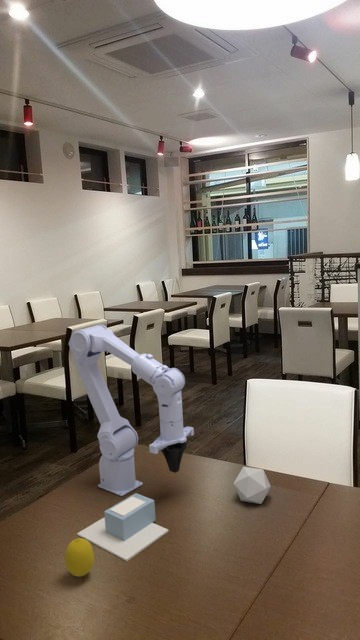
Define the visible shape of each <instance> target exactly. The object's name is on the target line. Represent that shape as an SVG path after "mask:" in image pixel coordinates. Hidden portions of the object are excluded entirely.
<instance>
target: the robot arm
mask: <svg viewBox="0 0 360 640" xmlns="http://www.w3.org/2000/svg"><path fill="white" fill-rule="evenodd" d="M68 346H69V348H70V351H71V353H72V355H73V362H74V366H75V368H76V371H77V373H78V375H79V378H80V380H81V382H82V385H83V388H84V389H85V392H86V394H87V397H88V398H89V401H90V404H91V405H92V408H93V411H94V412H95V415H96V417H97V419H98V421H99V424H100V427H99V430H98V432H97V439H98V443H99V450H100V452H101V454H102V455H101V456H100V458H99V463H98V466H99V467H98V468H99V480H100V483H98V487H99V488H101V489H103V490H106V491H108V492H110V493H113V494H115V495H117V496H120V497H124V496H125V495H127V494H129V493H131V492H132V491H134V490H136V489H137V488H139V487H141V486H143V484H144V483H143V482H142V481H140V480H137V479H136V468H135V453H134V452H135V447H136V446H137V445H138V441H139V435H138V433H137V431H136V430H135V428H134V427H133V426H132V425H131V424H130V421H129V420H128V419H126V418H124V417H122V416H121V415H120V413H119V410H118V409H117V406H116V404H115V402H114V399H113V397H112V395H111V393H110V390H109V388H108V386H107V383H106V381H105V379H104V376H103V374H102V372H101V370H100V367H99V365H98V360H99V357H100V355H101V354H102V353H103V352H107V353H110V354H111V355H112V356H115V357H116V358H118V359H120V361H122V362H124V363H126V364H127V365H130V366H131V371H132V372H133V374H135V375H136V376H137V377H139V378H140V379H142V380H144V381H145V382H146V383H148V384H149V385H151V386H152V389H153V392H154V393H155V395H156V396H157V402H158V412H159V413H158V415H159V427H160V428H159V431H160V435H159V436H158V437H157V438H156V439H155V440H154V441H153V442H152V443H150V444H149V446H148V447H149V448H148V449H149V453H150V454H154V455H157V454H159V451H161V453H162V455H163V456H164V459H165V461H166V463H167V467H168V469H169V472H171V473H175V474H176V473H178V472H179V471H180V466H181V463H182V458H183V455H184V453H185V451H186V449H187V447H188V446H187V439H188V438H187V437H189V436H191V437H192V436H194V435H195V430H194V429H195V428H194V427H192V426H185V427H184V417H183V416H184V415H183V398H182V389H183V388H184V387H185V385H186V378H185V375H184V373H183V372H181V370H180V369H178V368H176V367H171V368H170V367H168V366H167V365H166V364H162V363H161V362H159V361H158V360H156V359H155V358H154V355H152V354H151V353H138V352H137V351H135V350H134V349H133V348H131V346H129V345H127V344H126V343H125V342H123V341H122V340H121V339H120V338H119V337H118V336H116V335H115V334H114V332H113V330H112V329H111V328H108V327H107V326H105V325H104V324H101V323H99V324H95V325H93V326H90V327H85V328H82V329H75V330H74V331H73V332H72V334H71V335H70V338H69V341H68Z"/></svg>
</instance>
